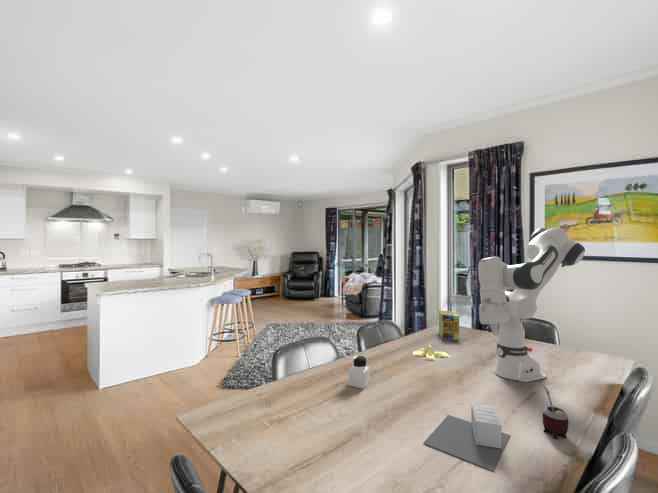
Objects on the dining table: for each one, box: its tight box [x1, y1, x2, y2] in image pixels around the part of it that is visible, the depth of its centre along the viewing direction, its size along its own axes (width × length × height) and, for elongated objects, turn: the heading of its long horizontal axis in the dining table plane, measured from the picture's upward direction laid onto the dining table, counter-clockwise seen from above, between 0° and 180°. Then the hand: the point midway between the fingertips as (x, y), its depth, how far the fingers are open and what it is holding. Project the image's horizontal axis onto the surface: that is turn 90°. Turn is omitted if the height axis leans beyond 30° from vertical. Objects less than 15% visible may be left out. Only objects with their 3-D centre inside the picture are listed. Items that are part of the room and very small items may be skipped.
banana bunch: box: [411, 344, 451, 362], centre depth 188 cm, size 22×19×6 cm
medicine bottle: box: [348, 355, 370, 389], centre depth 147 cm, size 7×7×12 cm
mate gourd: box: [539, 381, 569, 440], centre depth 111 cm, size 8×8×15 cm
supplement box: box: [470, 403, 503, 448], centre depth 108 cm, size 7×7×13 cm
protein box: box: [438, 310, 460, 341], centre depth 224 cm, size 10×15×16 cm
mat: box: [422, 414, 511, 473], centre depth 107 cm, size 22×20×1 cm
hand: (496, 335), depth 129 cm, fingers closed
